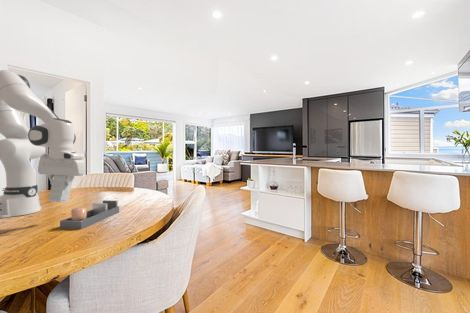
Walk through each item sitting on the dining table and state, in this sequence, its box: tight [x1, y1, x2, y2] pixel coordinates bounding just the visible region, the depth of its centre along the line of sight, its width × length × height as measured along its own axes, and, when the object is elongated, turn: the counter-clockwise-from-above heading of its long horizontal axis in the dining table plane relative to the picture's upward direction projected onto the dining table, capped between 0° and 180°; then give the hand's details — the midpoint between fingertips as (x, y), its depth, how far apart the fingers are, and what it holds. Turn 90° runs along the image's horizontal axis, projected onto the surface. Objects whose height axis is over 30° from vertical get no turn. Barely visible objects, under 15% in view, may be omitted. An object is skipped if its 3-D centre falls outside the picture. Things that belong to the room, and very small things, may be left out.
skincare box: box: [47, 175, 74, 203], centre depth 95 cm, size 6×4×12 cm
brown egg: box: [70, 206, 87, 221], centre depth 90 cm, size 5×5×7 cm
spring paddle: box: [92, 202, 107, 216], centre depth 102 cm, size 7×1×6 cm, turn 85°
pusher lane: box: [59, 199, 120, 230], centre depth 98 cm, size 10×24×7 cm, turn 174°
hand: (61, 184), depth 95 cm, fingers closed on skincare box, 6 cm apart
